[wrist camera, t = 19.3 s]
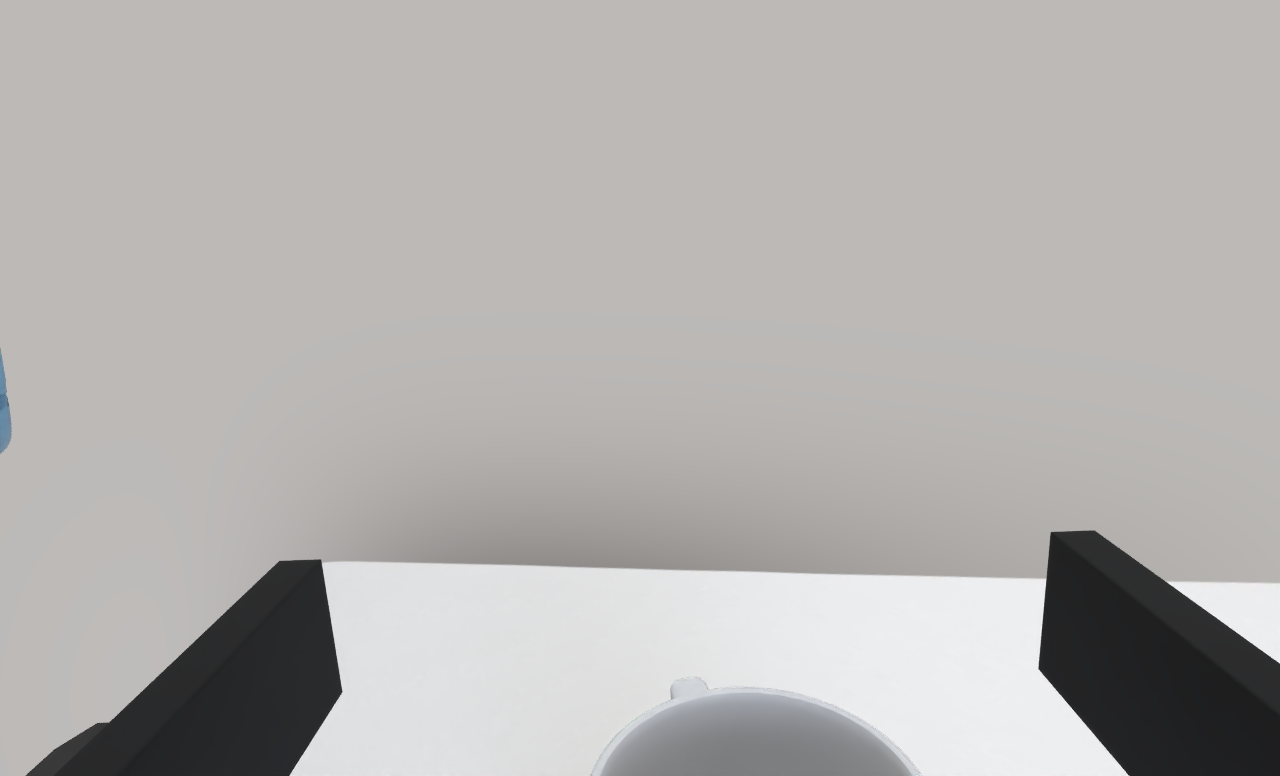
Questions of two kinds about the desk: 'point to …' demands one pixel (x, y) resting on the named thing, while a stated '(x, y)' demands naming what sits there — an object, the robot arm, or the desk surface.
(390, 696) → the desk surface
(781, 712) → the mug
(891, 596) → the desk surface
